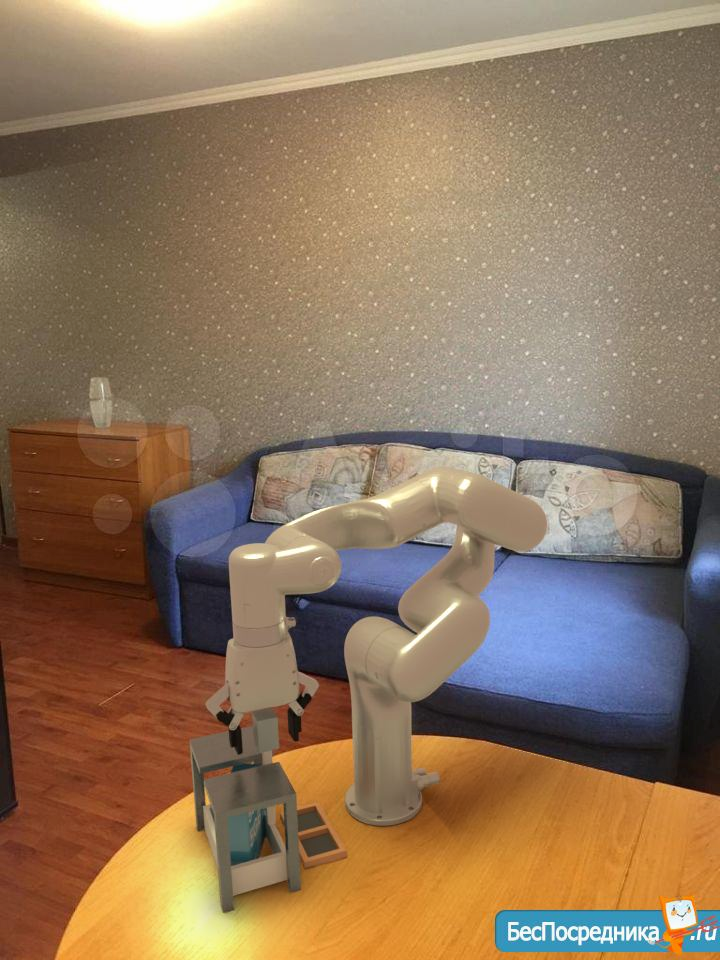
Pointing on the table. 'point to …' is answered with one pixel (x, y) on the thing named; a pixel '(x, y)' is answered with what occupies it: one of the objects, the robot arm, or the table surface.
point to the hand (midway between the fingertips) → (266, 742)
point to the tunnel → (241, 799)
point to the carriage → (273, 865)
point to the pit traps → (316, 837)
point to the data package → (246, 830)
